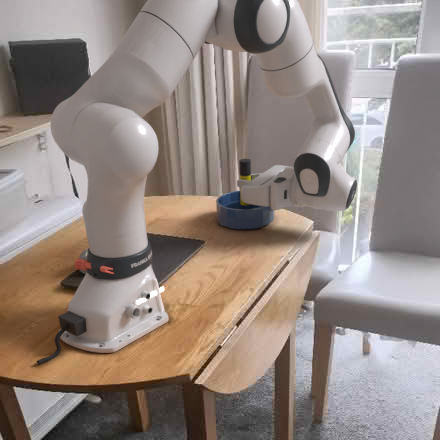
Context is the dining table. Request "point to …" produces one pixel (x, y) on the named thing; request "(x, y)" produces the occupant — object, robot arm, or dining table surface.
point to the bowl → (241, 213)
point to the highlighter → (244, 173)
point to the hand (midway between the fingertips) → (242, 180)
